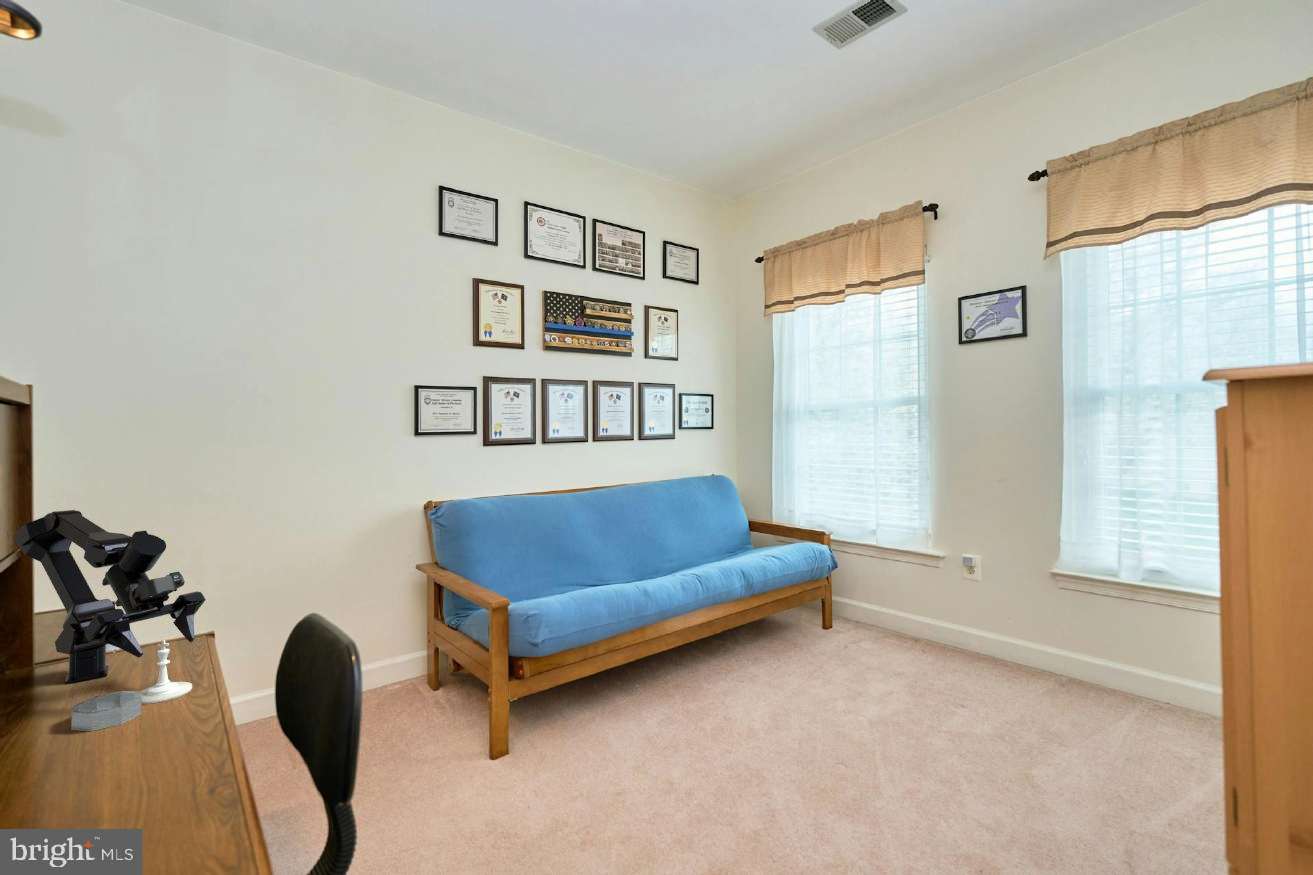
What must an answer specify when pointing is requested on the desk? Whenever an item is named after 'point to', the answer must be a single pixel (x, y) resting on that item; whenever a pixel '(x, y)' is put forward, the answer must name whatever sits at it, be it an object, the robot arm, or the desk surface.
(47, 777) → the desk surface
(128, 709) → the ring collar
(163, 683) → the chess piece
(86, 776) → the desk surface
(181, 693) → the felt pad
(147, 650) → the desk surface
